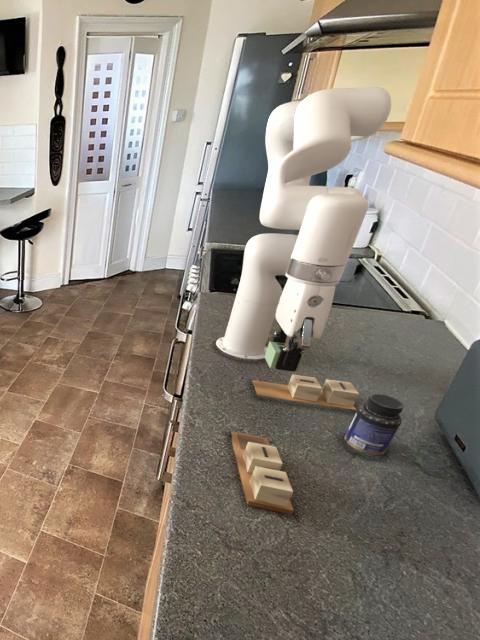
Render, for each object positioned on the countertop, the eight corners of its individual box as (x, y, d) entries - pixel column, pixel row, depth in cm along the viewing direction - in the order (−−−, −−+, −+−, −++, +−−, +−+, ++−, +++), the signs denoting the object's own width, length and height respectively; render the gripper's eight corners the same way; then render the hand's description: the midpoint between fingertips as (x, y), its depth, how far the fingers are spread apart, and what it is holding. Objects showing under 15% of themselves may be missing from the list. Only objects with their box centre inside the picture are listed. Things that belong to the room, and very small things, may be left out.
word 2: (250, 383, 103) (256, 367, 101) (343, 397, 97) (351, 379, 95) (256, 398, 98) (262, 381, 96) (355, 413, 92) (364, 396, 90)
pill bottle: (391, 460, 80) (418, 413, 75) (353, 456, 81) (377, 409, 76) (371, 438, 85) (395, 392, 80) (335, 435, 86) (357, 389, 81)
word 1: (229, 435, 87) (235, 417, 85) (266, 441, 85) (273, 423, 83) (247, 504, 72) (255, 485, 70) (292, 514, 70) (301, 494, 68)
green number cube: (264, 357, 84) (269, 340, 83) (291, 360, 83) (297, 343, 81) (269, 368, 81) (275, 351, 79) (298, 372, 79) (304, 354, 78)
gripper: (362, 289, 65) (319, 390, 73) (323, 258, 79) (291, 345, 87) (303, 284, 67) (269, 382, 76) (275, 255, 81) (249, 340, 90)
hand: (281, 362), depth 81 cm, fingers closed on green number cube, 4 cm apart
